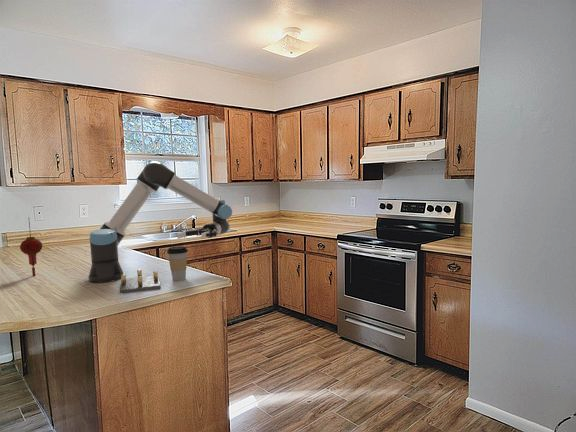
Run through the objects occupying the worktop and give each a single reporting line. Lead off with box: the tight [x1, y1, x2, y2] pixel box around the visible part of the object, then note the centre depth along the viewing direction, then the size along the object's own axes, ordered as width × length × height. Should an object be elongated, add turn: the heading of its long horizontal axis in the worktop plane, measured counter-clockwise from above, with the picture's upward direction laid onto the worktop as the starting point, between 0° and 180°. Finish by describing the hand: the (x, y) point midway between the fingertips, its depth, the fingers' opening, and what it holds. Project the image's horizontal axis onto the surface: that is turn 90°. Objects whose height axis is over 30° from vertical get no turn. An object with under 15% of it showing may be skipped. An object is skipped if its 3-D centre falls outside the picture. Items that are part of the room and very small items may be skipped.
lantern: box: [19, 216, 43, 277], centre depth 192 cm, size 10×10×30 cm
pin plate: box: [119, 269, 161, 295], centre depth 169 cm, size 20×16×6 cm
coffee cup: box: [166, 245, 189, 282], centre depth 177 cm, size 9×9×15 cm
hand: (189, 236), depth 186 cm, fingers open, 13 cm apart
